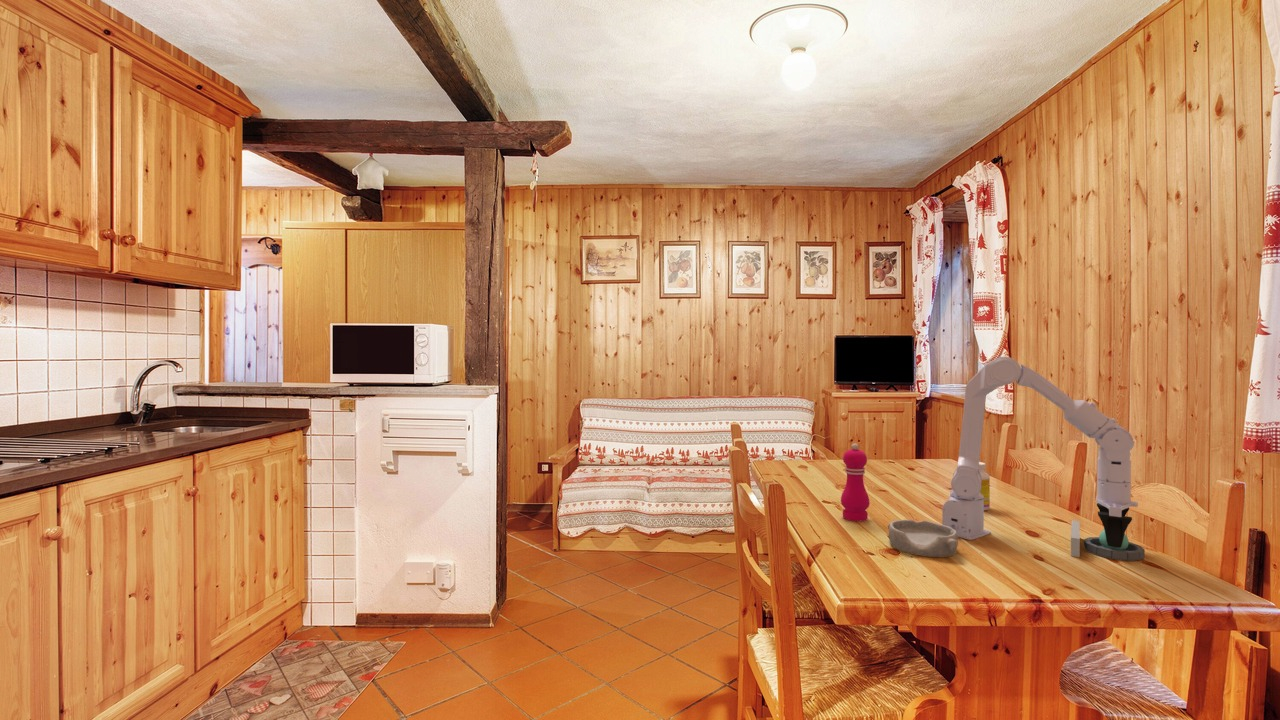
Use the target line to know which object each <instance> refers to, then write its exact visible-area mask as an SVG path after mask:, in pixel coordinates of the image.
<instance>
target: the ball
mask: <svg viewBox="0 0 1280 720" xmlns="http://www.w3.org/2000/svg"><path fill="white" fill-rule="evenodd" d="M1098 537H1099V540H1100V543H1101V545H1102V546H1103V547H1104V548H1108V549H1112V550H1121V551H1124V550H1125V549H1126V548H1127V547H1128V544H1129V542H1130V540H1129V538H1128V536H1127V534H1126V533H1125V534H1124V538H1123V542H1122V546H1121V548H1117V547H1111V546H1108V544H1107V540H1106V535H1105V530H1104V529H1103V530H1102V531H1101V532H1100V533H1099V536H1098Z"/></svg>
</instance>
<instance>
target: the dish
mask: <svg viewBox="0 0 1280 720" xmlns="http://www.w3.org/2000/svg"><path fill="white" fill-rule="evenodd" d="M887 528H888V540H889V543H890V544H891V546H892V547H893V548H895V549H897V550H899V551H901V552H904V553H907V554H911V555H915V556H920V557H928V558H929V557H931V558H947V557H950V556H951V557H952V556H953V555H954V554H956V552H957V548H958V545H959V539H958V538H959V537H957V532H956V530H954V529H953V528H951V527H949V526H945V525H942V523H941V524H940V523H938V522H933V521H928V520H921V521H915V520H914V519H898V520H892V521H890V522H889V523H888V525H887Z"/></svg>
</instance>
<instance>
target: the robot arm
mask: <svg viewBox="0 0 1280 720" xmlns="http://www.w3.org/2000/svg"><path fill="white" fill-rule="evenodd" d="M1013 383H1016V385H1017V386H1022V387H1026V388H1031V389H1033V390H1034V391H1036V392H1037V393H1038V394H1040V395H1042V396H1043V397H1044V398H1045V399H1047V400H1048V401H1050V402H1051V403H1053V404H1054V405H1055V406H1057V407H1058V408H1060V409H1061V410H1062V411H1063V419H1064V420H1065V421H1067V422H1068V423H1069V424H1071V425H1072V426H1073V427H1074V428H1076V429H1077V430H1079V432H1081V433H1082V434H1084V435H1085V436H1086V437H1088V438H1089V439H1094V441H1095V443H1096V444H1097V445H1098V457H1097V461H1096V465H1097V467H1096V468H1097V469H1096V475H1097V476H1096V497H1095V502H1096V507H1097V508H1098V511H1097V517H1098V518H1099V519H1100V521H1101V524H1102V526H1103V530H1105V535H1106V540H1107V544H1108V546H1111V547H1117V548H1121V546H1122V542H1123V538H1124V534H1125V535H1126V531H1127V528H1128V526H1129V525H1130V524H1131V522H1132V521H1133V517H1131V516H1126V515H1127V513H1128V512H1129V510H1130V508H1131V507H1136V508H1137V507H1139V504H1138V501H1133V500H1132V498H1131V497H1132V461H1131V451H1132V450H1133V448H1134V446H1135V441H1134V438H1133V436H1132V434H1131V433H1130V432H1129V431H1128V430H1127V429H1125V428H1124V427H1122V426H1121V425H1120V424H1118V420H1116V419H1115V418H1114V417H1112V418H1111V417H1108V416H1107V415H1106V414H1105V413H1103V412H1102V411H1100V410H1099V409H1097V407H1098V405H1097V404H1095V403H1094V402H1093V401H1090V402H1088V401H1086V400H1085V399H1080V400H1078V399H1076V400H1075V399H1072V397H1070V396H1069V395H1067V393H1065V392H1064V391H1062V389H1060V388H1058V386H1056V385H1055V384H1054V383H1052V382H1051V381H1049V380H1048V379H1047V378H1045V377H1044V376H1043V375H1041V374H1040V373H1039V372H1037V371H1036V370H1034V369H1032V368H1030V367H1028V366H1026V365H1025V364H1022V363H1019V362H1018V361H1017V360H1016V359H1014V358H1012V357H1009V356H999V357H996V358H995V359H993V360H990V361H989V362H987V363H986V364H985V365H983V366H982V367H981V368H980V370H978V372H977V373H976V374H974V376H973V377H972V378H970V380H969V381H967V383H966V386H965V393H964V402H963V411H962V422H961V431H960V440H959V452H958V457H957V458H958V460H957V465H956V469H955V471H954V473H953V474H952V478H951V481H950V487H951V490H950V491H949V498H948V500H947V501H945V502H944V503H943V505H942V510H941V511H942V513H941V515H942V523H941V525H945V526H949V527H951V528H953V529H954V530H956V532H957V537H958V538H962V539H965V540H970V541H972V540H976V539H979V538H981V537H984V536H987V535H990V534H992V531H991V530H988V529H984V523H985V521H984V520H985V519H984V513H985V512H984V496H983V495H982V494H981V493H980V491H981V483H982V477H981V474H980V472H979V462H980V458H981V447H982V439H983V438H982V437H983V429H984V419H985V418H984V417H985V411H986V410H985V409H986V408H985V407H986V400H987V399H986V398H987V395H989V394H990V393H993V392H994V391H995V390H997V389H998V388H1000V387H1003V386H1008V385H1010V384H1013Z"/></svg>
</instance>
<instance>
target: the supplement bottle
mask: <svg viewBox="0 0 1280 720" xmlns="http://www.w3.org/2000/svg"><path fill="white" fill-rule="evenodd" d="M985 470H986V463H985V462H982V461H979V472H980V474H981V477H982V483H981V491H980V493H981V494H982V495H983V496H984V510H985V511H988V510H990V507H991V505H990V503H991V501H990V500H991V499H990V491H991V490H990V488H991V487H990V484H991V483H990V480H991V479H990V474H989V473H988V472H986V471H985Z"/></svg>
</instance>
